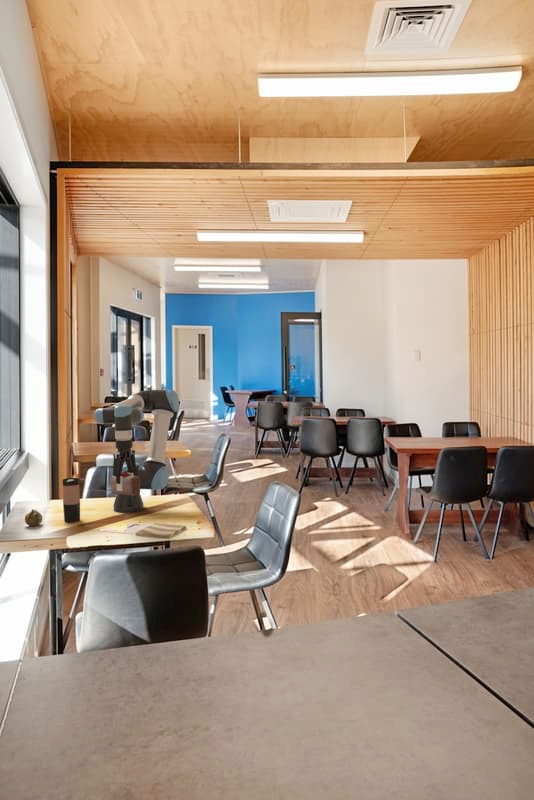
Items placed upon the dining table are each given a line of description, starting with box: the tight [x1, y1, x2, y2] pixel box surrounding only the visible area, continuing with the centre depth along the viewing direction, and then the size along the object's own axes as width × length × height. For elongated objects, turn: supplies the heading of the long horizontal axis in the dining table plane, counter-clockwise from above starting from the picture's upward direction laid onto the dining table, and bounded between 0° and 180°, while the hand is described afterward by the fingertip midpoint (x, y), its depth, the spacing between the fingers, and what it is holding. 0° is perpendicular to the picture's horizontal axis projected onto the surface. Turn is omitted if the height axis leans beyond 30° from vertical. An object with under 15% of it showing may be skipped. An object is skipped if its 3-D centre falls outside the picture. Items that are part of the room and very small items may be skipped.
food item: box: [109, 472, 141, 495], centre depth 272 cm, size 14×8×10 cm, turn 66°
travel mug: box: [62, 477, 81, 524], centre depth 283 cm, size 8×8×20 cm
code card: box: [98, 521, 152, 535], centre depth 270 cm, size 16×18×1 cm
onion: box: [24, 508, 43, 527], centre depth 276 cm, size 8×8×8 cm
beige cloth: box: [135, 522, 187, 539], centre depth 262 cm, size 16×16×1 cm
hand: (125, 488), depth 272 cm, fingers closed on food item, 8 cm apart
